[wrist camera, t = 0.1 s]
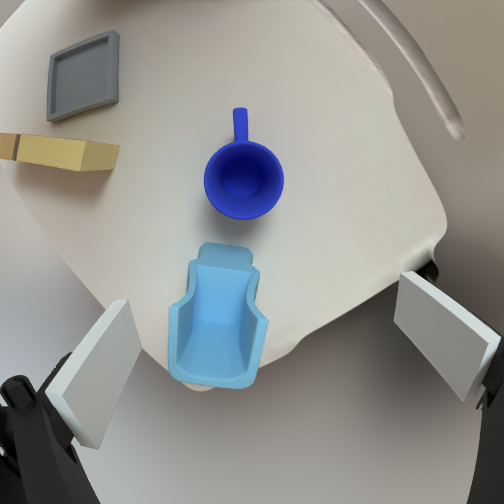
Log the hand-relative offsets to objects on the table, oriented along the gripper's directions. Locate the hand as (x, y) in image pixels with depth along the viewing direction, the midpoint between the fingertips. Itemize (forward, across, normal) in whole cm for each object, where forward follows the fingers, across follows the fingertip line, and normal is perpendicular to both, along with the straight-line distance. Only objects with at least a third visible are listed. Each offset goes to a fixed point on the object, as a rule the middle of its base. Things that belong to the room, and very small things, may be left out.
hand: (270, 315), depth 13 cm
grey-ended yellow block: (+28, -24, +13) cm, 39 cm away
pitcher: (+28, -4, -8) cm, 30 cm away
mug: (+28, 0, +7) cm, 29 cm away
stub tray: (+28, -23, +25) cm, 44 cm away
